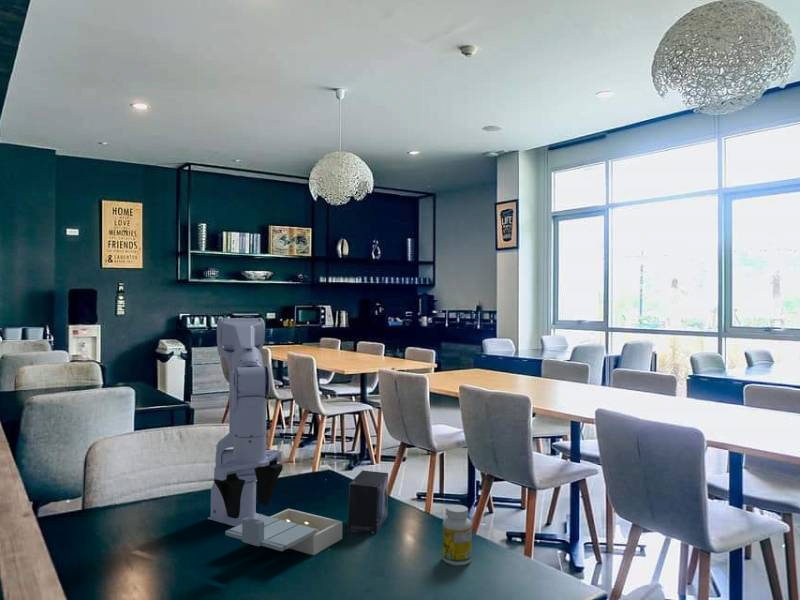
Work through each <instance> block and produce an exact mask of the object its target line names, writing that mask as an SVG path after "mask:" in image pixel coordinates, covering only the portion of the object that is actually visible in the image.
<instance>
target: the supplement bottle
mask: <svg viewBox="0 0 800 600" xmlns="http://www.w3.org/2000/svg"><path fill="white" fill-rule="evenodd" d="M445 514H446V517H445V518H444V519H443V521H442V559H443V561H444V562H445V563H447V564H449V565H452V566H458V567H459V566H460V565H461V566H466V565H468V564H470V562H471V561H472V547H473V546H472V544H473V543H472V542H473V541H472V538H473V537H472V535H473V534H472V521H471V519H469V518H468V516H469V508H468V507H467V506H465V505H462V504H449V505H447V507H446V513H445Z"/></svg>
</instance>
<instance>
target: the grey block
mask: <svg viewBox="0 0 800 600" xmlns="http://www.w3.org/2000/svg"><path fill="white" fill-rule="evenodd" d="M269 517H272V518H276V519H280V520H281V519H284V518H287V519H289V520H291V522H292V523H296V524H298V523H299V522H300V521H307V522H309V523H310V525H311V527H312V528H316V529H318V530H319V531H320V532H318V533H316V534H314V535H312V536H310V537H308V538H306V539H305V540H303V541H301V542H299V543H297V544H295V545H293V546H291V547H289V548H288V549H289V550H294V551H297V552H301V553H304V554H307V555H311V556H314V555H315V556H316V555H317V554H318V553H320V552H322V551H323V550H325V549H327V548H329V547H330V546H332V545H334V544H336V543H339V542H340V541H341V540H343V521H342V520H338V519H333V518H329V517H325V516H321V515H316V514H313V513H309V512H304V511H301V510H296V509H291V508H286V509H284V510H282V511H280V512H278V513H276V514H273V515H270V516H269Z"/></svg>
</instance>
